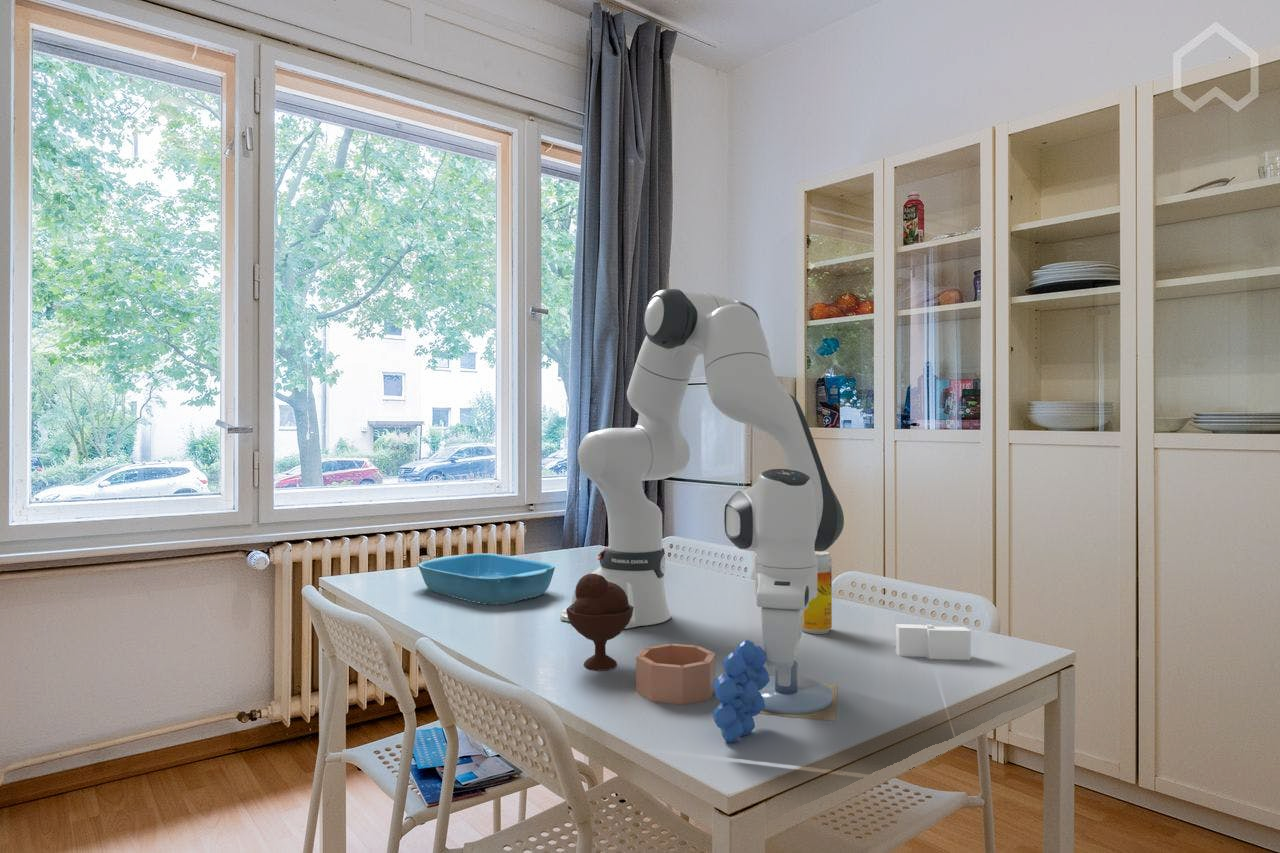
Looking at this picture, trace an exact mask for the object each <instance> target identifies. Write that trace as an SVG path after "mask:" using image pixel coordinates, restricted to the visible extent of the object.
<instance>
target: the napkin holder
mask: <svg viewBox="0 0 1280 853" xmlns="http://www.w3.org/2000/svg"><path fill="white" fill-rule="evenodd" d="M971 633H972V632H971V630H970V629H968V627H966V626H934V625H933V624H912V623H911V624H910V623H909V624H908V623H905V624H904V623H902V624H900V623H899V624H898V623H897V624H895V653H896V654H897V655H898V656H899V657H918V658H919V657H921V658H923V657H924V658H928V660H929V659H930V660H968V661H969V660H971V658H972V657H971V653H972V652H971V651H972V649H971V646H972V645H971V641H972V640H971V639H972V638H971V637H972V636H971V635H972V634H971Z"/></svg>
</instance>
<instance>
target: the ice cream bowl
mask: <svg viewBox="0 0 1280 853" xmlns="http://www.w3.org/2000/svg"><path fill="white" fill-rule="evenodd" d="M575 588H576V589H575ZM575 588H574V590H575V594H576V598H577V600H576V601H575V602H574V604H572V603H571V604H572V605H571V604H570V605H571V606H570V605H568V606H569V607H568V606H567V607H568V608H567V609H566V611H567V616H568V619H569V621H570V622H569V621H568V622H569V623H570V626H572V627H573V628H574V629H575V631H577V633H579V634H580V635H581V636H583V637H584V638H586V640H590V641H592V642H593V643H594V654H593V655H591V656H590V657H588V658H586V660H585V661H584V662H583V664H582V665H583V667H584V668H585V669H586V670H591V671H608V670H612V669H616V667H617V665H618V663H617V661H616V660H615V659H614V658H613V657H611V656H609V655H607V653H606V644H607V642H608V641H610V640H612V639H615V637H617V636H619V635H620V634H621V633H622V631H624V630H625V629H624V628H625V627H626V626H627V625H628V624H629V622H630V619H631V617H632V614H633V608H634V607H633V606H631V605H629V604H628V597H627V595H626V593H625V591H624V590H623V589H622V588H621V587H620V586H618V585H617V584H614V583H612V582H607V580H606V579H605V578H604V577H603V576H602V575H598V574H591V573H588V574H585V575H582V577H581V578H580V579H579V580H578V581H577V583H576V585H575Z"/></svg>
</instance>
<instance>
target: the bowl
mask: <svg viewBox="0 0 1280 853" xmlns="http://www.w3.org/2000/svg"><path fill="white" fill-rule="evenodd" d="M635 657H636V658H635V678H636V679H635V685H636V686H635V689H636V690H635V691H636V693H638V694H639V695H641V696H643V697H644V698H646V700H649V701H650V702H654V703H664V704H665V703H666V704H671V705H672V704H674V705H688V704H692V703H697V702H702V701H705V700H707V701H708V700H711V697H712V695H713V693H715V692H714V688H713V682H714V681H715V679H716V678H717V677H716V676H717V675H716V672H717V671H716V670H717V669H716V666H717V664H716V663H717V661H716V653H715V652H713V651H711V650H709V649H707V648H704V647H702V646H700V645H695V644H694V645H693V644H683V643H682V644H679V643H665V644H659V645H654V646H648V647H647V646H646V647H644V648H643V649H642V650H640V652H639V653H638V654H637V655H636V656H635Z"/></svg>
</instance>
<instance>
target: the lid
mask: <svg viewBox="0 0 1280 853" xmlns="http://www.w3.org/2000/svg"><path fill="white" fill-rule="evenodd" d="M798 667H799V666H798V662H797V660H794V664H793V666H792V667H791V684H790V686H780V685H778V673H777V667H776V666H774V675H769V679H770V681H769V682H768V684H767V685H766V686H765V687H764V688H763V689H761V690H758V691H759V692H760V693H761V695H762V697H763V699H764V703H765V707H764V709H763V711H767V712H772V713H779V714H791V715H799V714H811V713H816V712H820V711H823V710H825V709H827V708H829V707H830V706H831V705H832V703H833V692H832V690H831V689H830V688H829V687H827V686H826V685H827V684H825V683H822V682H819V681H818V680H817V681H816V680H814V679H810V678H806V677H802V676H801V677H800V676H798V673H799V672H798V671H799V670H798Z"/></svg>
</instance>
